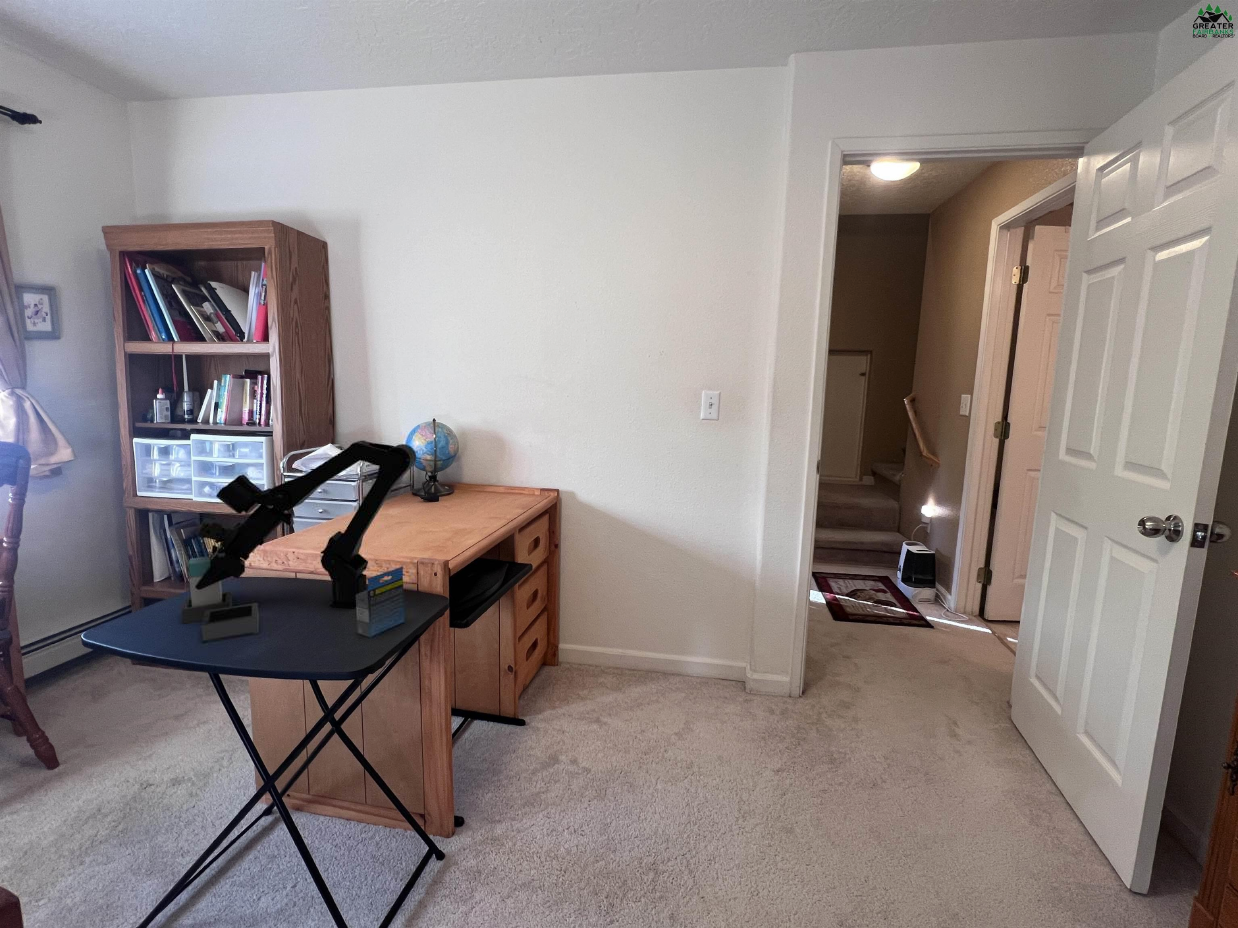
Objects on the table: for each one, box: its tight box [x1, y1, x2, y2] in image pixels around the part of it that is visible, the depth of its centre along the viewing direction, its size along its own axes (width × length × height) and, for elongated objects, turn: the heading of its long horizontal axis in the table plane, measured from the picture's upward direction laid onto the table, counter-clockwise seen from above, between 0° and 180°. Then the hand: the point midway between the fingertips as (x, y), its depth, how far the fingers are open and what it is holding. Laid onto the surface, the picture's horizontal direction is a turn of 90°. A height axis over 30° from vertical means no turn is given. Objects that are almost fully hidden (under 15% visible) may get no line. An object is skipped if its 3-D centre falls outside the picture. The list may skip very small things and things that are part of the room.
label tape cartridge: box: [355, 566, 406, 638], centre depth 118 cm, size 9×4×12 cm, turn 152°
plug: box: [187, 556, 223, 607], centre depth 122 cm, size 5×4×12 cm
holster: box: [181, 591, 233, 624], centre depth 123 cm, size 8×7×3 cm
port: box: [201, 602, 260, 644], centre depth 115 cm, size 9×8×4 cm
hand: (197, 585), depth 121 cm, fingers closed on plug, 4 cm apart
